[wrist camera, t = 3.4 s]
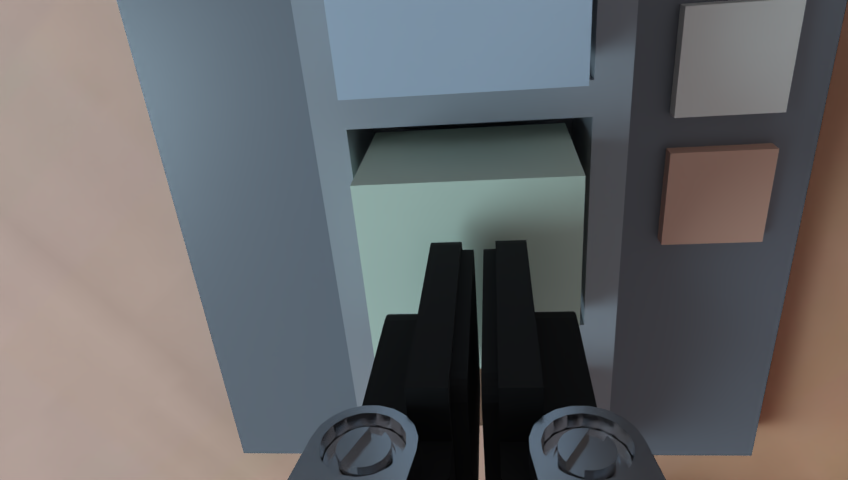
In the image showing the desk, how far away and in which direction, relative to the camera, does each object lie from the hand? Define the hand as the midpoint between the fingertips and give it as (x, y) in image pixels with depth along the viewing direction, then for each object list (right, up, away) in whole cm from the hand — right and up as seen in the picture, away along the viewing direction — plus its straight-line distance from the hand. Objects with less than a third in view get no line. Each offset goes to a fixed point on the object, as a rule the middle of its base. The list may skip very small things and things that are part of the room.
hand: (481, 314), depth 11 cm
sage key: (0, +2, +3) cm, 4 cm away
